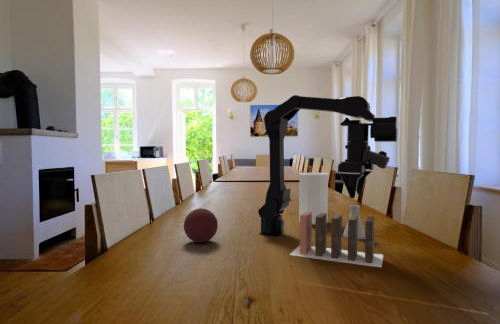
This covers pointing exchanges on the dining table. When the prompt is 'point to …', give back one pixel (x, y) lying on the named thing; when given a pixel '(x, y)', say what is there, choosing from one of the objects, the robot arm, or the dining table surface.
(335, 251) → the domino
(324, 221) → the domino
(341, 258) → the runner
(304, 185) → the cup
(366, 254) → the domino
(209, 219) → the decorative ball
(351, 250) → the domino
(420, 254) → the dining table surface
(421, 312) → the dining table surface
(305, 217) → the domino
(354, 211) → the flask
